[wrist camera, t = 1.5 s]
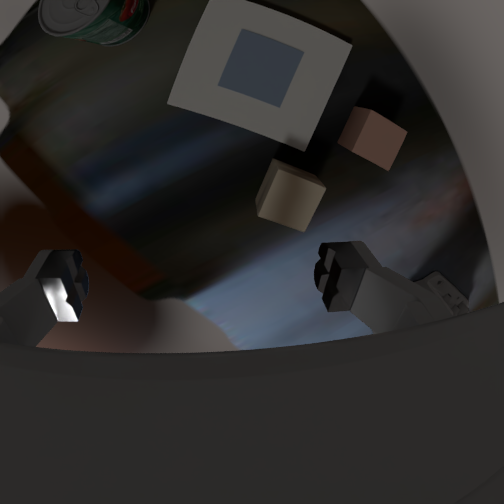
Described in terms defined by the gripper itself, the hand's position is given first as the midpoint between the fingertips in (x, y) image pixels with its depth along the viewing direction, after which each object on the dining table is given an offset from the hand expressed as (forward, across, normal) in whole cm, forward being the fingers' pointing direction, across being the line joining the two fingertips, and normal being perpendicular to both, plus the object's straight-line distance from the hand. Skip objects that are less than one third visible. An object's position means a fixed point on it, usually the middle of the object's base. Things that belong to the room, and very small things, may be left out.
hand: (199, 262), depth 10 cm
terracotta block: (+24, +19, 0) cm, 30 cm away
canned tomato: (+28, -10, +14) cm, 33 cm away
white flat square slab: (+26, +6, +6) cm, 27 cm away
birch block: (+24, +10, -7) cm, 27 cm away
